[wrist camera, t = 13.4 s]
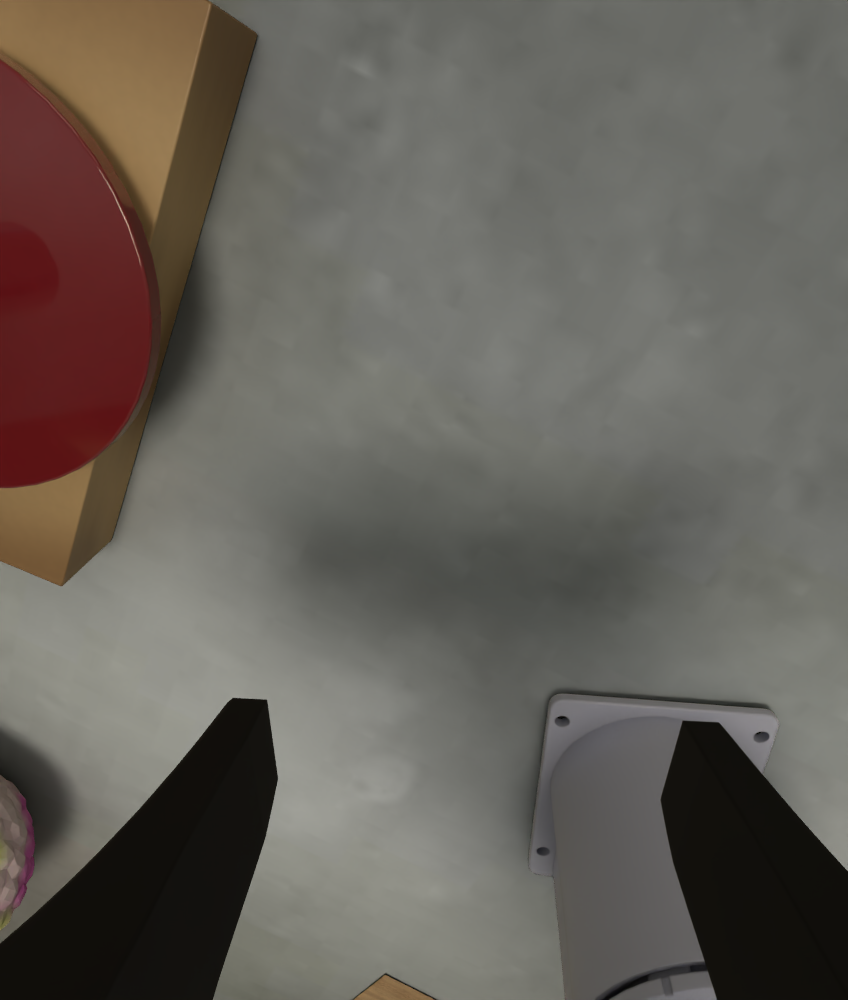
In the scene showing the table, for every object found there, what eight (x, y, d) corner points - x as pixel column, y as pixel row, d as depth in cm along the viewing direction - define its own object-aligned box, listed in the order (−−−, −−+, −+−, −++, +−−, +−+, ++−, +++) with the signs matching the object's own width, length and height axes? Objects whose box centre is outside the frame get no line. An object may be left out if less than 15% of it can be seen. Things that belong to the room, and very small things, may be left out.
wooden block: (112, 540, 23) (61, 587, 20) (-117, 441, 22) (-202, 477, 19) (258, 33, 16) (212, 3, 13) (-63, -138, 15) (-182, -209, 12)
